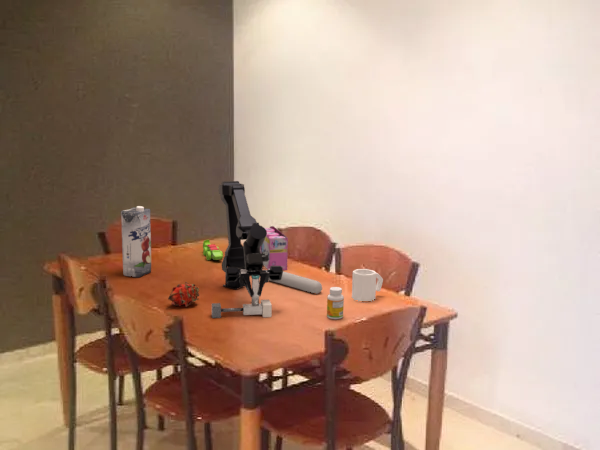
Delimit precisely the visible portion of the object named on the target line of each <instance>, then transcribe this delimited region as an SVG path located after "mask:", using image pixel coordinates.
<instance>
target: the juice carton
mask: <svg viewBox="0 0 600 450" xmlns="http://www.w3.org/2000/svg"><path fill="white" fill-rule="evenodd" d="M120 217H121V218H120V219H121V247H122V249H121V250H122V253H121V254H122V271H123V272H122V273H123V276H124V277H131V276H132V277H133V278H141V277H143V276H145V274H146V275H148V274H150V273H152V242H151V241H152V237H151V236H152V234H151V233H152V232H151V229H152V228H151V208H145V207H144V206H141V205H137V206H136V207H130V209H123V210H121V211H120Z"/></svg>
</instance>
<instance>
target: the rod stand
mask: <svg viewBox="0 0 600 450" xmlns="http://www.w3.org/2000/svg"><path fill="white" fill-rule="evenodd" d="M236 312H237V313H239V312H242V313H243V307H230V308H229V307H228V308H226V307H225V308H222V305H221V302H215V303H211V318H212V319H220V318H222V313H236Z"/></svg>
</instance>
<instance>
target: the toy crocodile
mask: <svg viewBox="0 0 600 450" xmlns="http://www.w3.org/2000/svg"><path fill="white" fill-rule="evenodd" d="M202 250H203V251H202V252H203V253H202V254H203V256H204V257H205V258H206V261H211V260H213V261H219V260H223V259H224V254H223V253H224V252H223V251H222V250H220V247H219V246H217V245H216V244H215V243H212V244H211V241H210V239H205V240H203V242H202Z"/></svg>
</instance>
